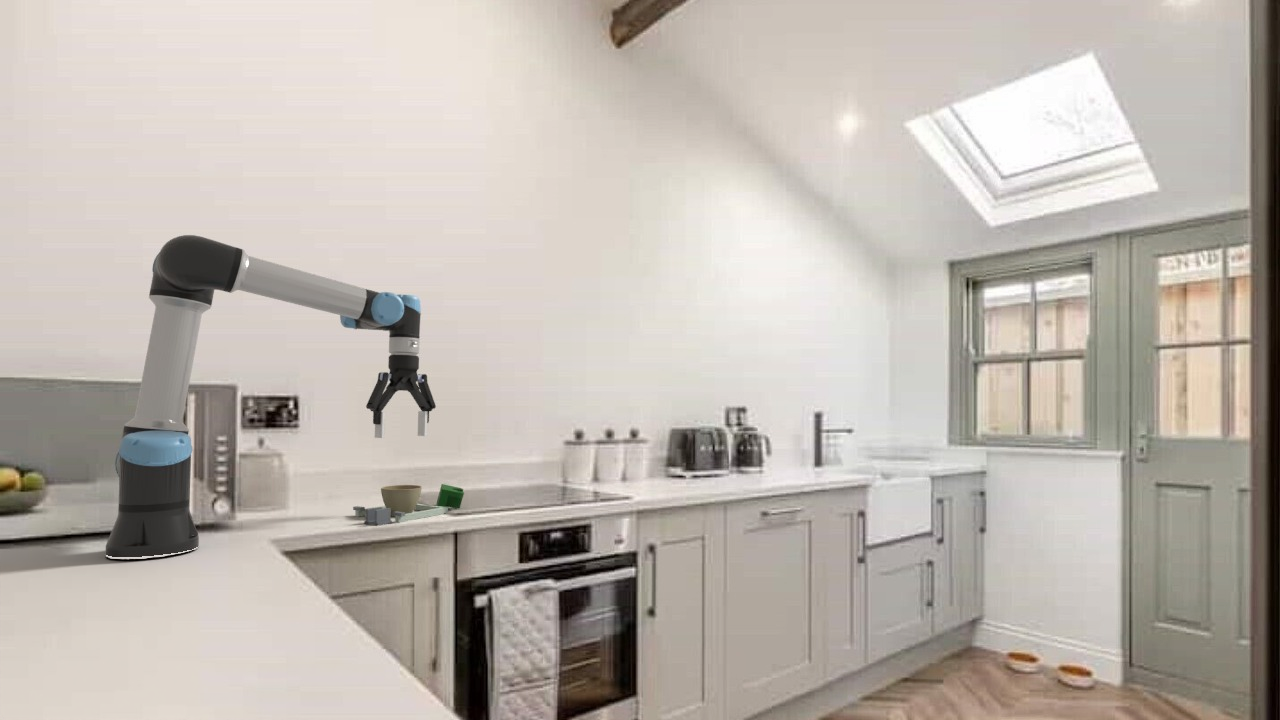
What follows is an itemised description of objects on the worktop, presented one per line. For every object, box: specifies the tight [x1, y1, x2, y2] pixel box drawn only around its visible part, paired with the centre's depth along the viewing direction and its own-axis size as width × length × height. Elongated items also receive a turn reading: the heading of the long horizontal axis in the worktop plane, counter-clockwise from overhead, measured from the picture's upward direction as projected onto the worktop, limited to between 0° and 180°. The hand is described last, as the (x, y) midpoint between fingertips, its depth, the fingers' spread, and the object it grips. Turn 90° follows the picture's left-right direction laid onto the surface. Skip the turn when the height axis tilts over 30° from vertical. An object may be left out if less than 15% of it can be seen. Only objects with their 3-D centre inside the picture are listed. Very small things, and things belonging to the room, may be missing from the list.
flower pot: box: [380, 484, 423, 517], centre depth 184 cm, size 10×10×7 cm
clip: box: [363, 506, 393, 526], centre depth 172 cm, size 4×5×4 cm
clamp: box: [435, 483, 465, 509], centre depth 196 cm, size 12×6×9 cm, turn 10°
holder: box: [352, 503, 449, 523], centre depth 184 cm, size 16×18×2 cm
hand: (401, 436), depth 184 cm, fingers open, 13 cm apart
